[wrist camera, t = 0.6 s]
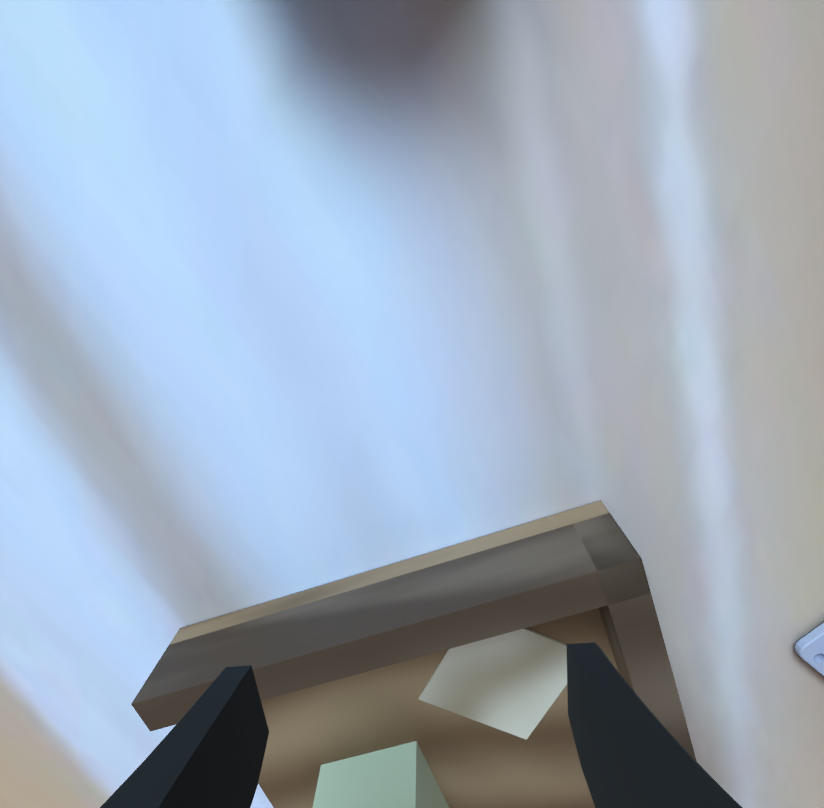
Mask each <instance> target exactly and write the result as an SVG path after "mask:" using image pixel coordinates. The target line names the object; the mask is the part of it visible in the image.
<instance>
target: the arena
mask: <svg viewBox="0 0 824 808" xmlns="http://www.w3.org/2000/svg"><path fill="white" fill-rule="evenodd" d="M591 642H595V643H596V644H597V645H598V646H599V647H600V648H601V649H602V651H603V652H604V653H605V655H606V656H607V657H608V659H609V660H610V661H611V663H612V664H613V665H614V667H615V668H616V669H617V671H618V672H619V673H620V674H621V676H622V677H623V678H624V679H625V681H626V682H627V683H628V684H629V686H630V687H631V688H632V689H633V691H634V692H635V693H636V694H637V696H638V697H639V698H640V699H641V700H642V701H643V703H644V704H645V705H646V706H647V707H648V709H649V710H650V711H651V712H652V713H653V714H654V715H655V717H656V718H657V719H658V720H659V721H660V722H661V723H662V725H663V726H664V727H665V728H666V729H667V730H668V731H669V733H670V734H671V735H672V736H673V737H674V738H675V739H676V740H677V741H678V743H679V744H680V745H681V746H682V747H683V748H684V749H685V750H686V751H687V752H688V753H689V754H690V756H691V757H692V758H693V759H694V760H695V761H696V758H695V754H694V751H693V747H692V743H691V740H690V736H689V732H688V728H687V725H686V721H685V717H684V714H683V710H682V706H681V703H680V699H679V695H678V692H677V688H676V684H675V681H674V677H673V673H672V670H671V666H670V662H669V659H668V655H667V651H666V647H665V644H664V640H663V636H662V633H661V629H660V625H659V622H658V618H657V614H656V611H655V607H654V603H653V600H652V596H651V592H650V589H649V585H648V581H647V577H646V574H645V570H644V566H643V563H642V559H641V557H640V556H639V554H638V553H637V552H636V550H635V549H634V547H633V546H632V544H631V543H630V541H629V540H628V539H627V537H626V536H625V534H624V533H623V531H622V530H621V528H620V527H619V526H618V524H617V523H616V521H615V520H614V518H613V517H612V516H611V514H610V513H609V511H608V510H607V508H606V507H605V505H604V504H603V503H602V501H601V500H600V501H597V502H594V503H590V504H587V505H584V506H581V507H577V508H574V509H571V510H567V511H564V512H561V513H558V514H554V515H551V516H548V517H544V518H541V519H538V520H535V521H531V522H528V523H525V524H521V525H518V526H515V527H511V528H508V529H505V530H502V531H498V532H495V533H492V534H488V535H485V536H482V537H479V538H475V539H472V540H469V541H465V542H462V543H459V544H456V545H452V546H449V547H446V548H442V549H439V550H436V551H433V552H429V553H426V554H423V555H419V556H416V557H413V558H410V559H406V560H403V561H400V562H396V563H393V564H390V565H387V566H383V567H380V568H377V569H373V570H370V571H367V572H364V573H360V574H357V575H354V576H350V577H347V578H344V579H340V580H337V581H334V582H331V583H327V584H324V585H321V586H317V587H314V588H311V589H308V590H304V591H301V592H298V593H294V594H291V595H288V596H285V597H281V598H278V599H275V600H271V601H268V602H265V603H262V604H258V605H255V606H252V607H248V608H245V609H242V610H239V611H235V612H232V613H229V614H225V615H222V616H219V617H216V618H212V619H209V620H206V621H202V622H199V623H196V624H192V625H189V626H186V627H183V628H180V629H179V631H178V632H177V634H176V635H175V637H174V638H173V640H172V642H171V643H170V645H169V646H168V648H167V649H166V651H165V652H164V654H163V656H162V657H161V659H160V660H159V662H158V663H157V665H156V666H155V668H154V670H153V671H152V673H151V674H150V676H149V677H148V679H147V680H146V682H145V684H144V685H143V687H142V688H141V690H140V691H139V693H138V694H137V696H136V698H135V699H134V701H133V702H132V706H133V707H134V709H135V710H136V711H137V713H138V714H139V716H140V717H141V719H142V720H143V721H144V723H145V724H146V726H147V727H148V729H149V730H150V731H153V730H157V729H161V728H164V727H168V726H171V725H175V724H177V723H178V722H179V721H180V720H181V719H182V718H183V716H184V715H185V714H186V713H187V712H188V711H189V709H190V708H191V707H192V706H193V705H194V704H195V702H196V701H197V700H198V699H199V698H200V697H201V695H202V694H203V693H204V692H205V691H206V690H207V688H208V687H209V686H210V685H211V684H212V683H213V681H214V680H215V679H216V678H217V677H218V676H219V675H220V674H221V672H222V671H223V670H224V669H225V668H226V667H235V666H250V665H252V669H253V673H254V677H255V680H256V684H257V688H258V692H259V695H260V699H261V703H262V707H263V710H264V714H265V718H266V722H267V726H268V729H269V735H268V740H267V745H266V749H265V754H264V759H263V763H262V768H261V772H260V776H259V781H258V784H259V785H260V787H261V788H262V790H263V791H264V793H265V795H266V796H267V798H268V799H269V801H270V802H271V804H272V805H273V807H274V808H312V807H313V802H314V797H315V792H316V787H317V782H318V777H319V772H320V767H321V765H323V764H327V763H331V762H335V761H339V760H343V759H347V758H351V757H355V756H359V755H363V754H367V753H370V752H374V751H378V750H382V749H386V748H390V747H394V746H398V745H402V744H406V743H410V742H414V741H417V743H418V745H419V747H420V749H421V751H422V753H423V755H424V757H425V759H426V761H427V763H428V765H429V767H430V769H431V771H432V773H433V775H434V777H435V779H436V782H437V784H438V786H439V788H440V790H441V792H442V794H443V796H444V798H445V800H446V802H447V804H448V806H449V808H595V805H594V802H593V799H592V797H591V794H590V791H589V788H588V785H587V782H586V779H585V776H584V774H583V771H582V768H581V764H580V760H579V756H578V752H577V749H576V745H575V741H574V737H573V733H572V729H571V724H570V720H569V716H568V692H567V644H576V643H591Z"/></svg>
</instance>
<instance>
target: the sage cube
mask: <svg viewBox="0 0 824 808" xmlns="http://www.w3.org/2000/svg"><path fill="white" fill-rule="evenodd" d="M312 808H449V806H448V804H447V802H446V800H445V798H444V796H443V794H442V792H441V790H440V788H439V786H438V784H437V782H436V779H435V777H434V775H433V773H432V771H431V769H430V767H429V765H428V763H427V761H426V759H425V757H424V755H423V753H422V751H421V749H420V747H419V745H418V743H417V741H414V742H410V743H406V744H402V745H398V746H394V747H390V748H386V749H382V750H378V751H374V752H370V753H367V754H363V755H359V756H355V757H351V758H347V759H343V760H339V761H335V762H331V763H327V764H323V765H321V767H320V772H319V777H318V782H317V787H316V792H315V797H314V802H313V807H312Z"/></svg>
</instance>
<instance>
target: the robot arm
mask: <svg viewBox="0 0 824 808" xmlns="http://www.w3.org/2000/svg"><path fill="white" fill-rule="evenodd" d="M795 651H796V652H797V654H798V655H799V656H800V657H801V658H802V659H803V660H805V661H806V662H807V663H808V664H809V665H811V666H812V667H813V668H814V669H815V670H817V671H818V672H819V673H820V674H821V675H823V676H824V622H823V623H822V624H821V625H819V626H818V627H817V628H815V629H814V630H812V631H811V632H810V633H808V634H807V635H806V636H804V637H803V638H802V639H800V640H799V641H798V642H797V643H796V645H795ZM567 692H568V716H569V720H570V724H571V729H572V733H573V737H574V741H575V745H576V749H577V752H578V756H579V760H580V764H581V768H582V771H583V774H584V776H585V779H586V782H587V785H588V788H589V791H590V794H591V797H592V799H593V802H594V805H595V808H742V807H741V806H740V805H739V804H738V803H737V802H736V801H735V800H734V799H733V798H732V797H731V796H730V795H729V794H728V793H727V792H726V791H725V790H724V789H723V788H722V787H721V786H720V785H719V784H718V783H717V782H716V781H715V780H714V779H713V778H712V777H711V776H710V775H709V774H708V773H707V772H706V771H705V770H704V769H703V768H702V767H701V766H700V765H699V764H698V763H697V762H696V761H695V760H694V759H693V758H692V757H691V756H690V754H689V753H688V752H687V751H686V750H685V749H684V748H683V747H682V746H681V745H680V744H679V743H678V741H677V740H676V739H675V738H674V737H673V736H672V735H671V734H670V733H669V731H668V730H667V729H666V728H665V727H664V726H663V725H662V723H661V722H660V721H659V720H658V719H657V718H656V717H655V715H654V714H653V713H652V712H651V711H650V710H649V709H648V707H647V706H646V705H645V704H644V703H643V701H642V700H641V699H640V698H639V697H638V696H637V694H636V693H635V692H634V691H633V689H632V688H631V687H630V686H629V684H628V683H627V682H626V681H625V679H624V678H623V677H622V676H621V674H620V673H619V672H618V671H617V669H616V668H615V667H614V665H613V664H612V663H611V661H610V660H609V659H608V657H607V656H606V655H605V653H604V652H603V651H602V649H601V648H600V647H599V646H598V645H597V644H596V643H595V642H591V643H576V644H567ZM268 735H269V729H268V726H267V722H266V718H265V714H264V710H263V707H262V703H261V699H260V695H259V692H258V688H257V684H256V680H255V677H254V673H253V669H252V665H250V666H235V667H226V668H225V669H224V670H223V671H222V672H221V674H220V675H219V676H218V677H217V678H216V679H215V680H214V681H213V683H212V684H211V685H210V686H209V687H208V688H207V690H206V691H205V692H204V693H203V694H202V695H201V697H200V698H199V699H198V700H197V701H196V702H195V704H194V705H193V706H192V707H191V708H190V709H189V711H188V712H187V713H186V714H185V715H184V716H183V718H182V719H181V720H180V721H179V722H178V723H177V725H176V726H175V727H174V728H173V729H172V730H171V731H170V732H169V734H168V735H167V736H166V737H165V738H164V739H163V740H162V742H161V743H160V744H159V745H158V746H157V747H156V748H155V749H154V751H153V752H152V753H151V754H150V755H149V756H148V757H147V758H146V760H145V761H144V762H143V763H142V764H141V765H140V766H139V767H138V768H137V769H136V770H135V771H134V772H133V773H132V775H131V776H130V777H129V778H128V779H127V780H126V781H125V782H124V783H123V784H122V785H121V786H120V787H119V788H118V789H117V790H116V791H115V793H114V794H113V795H112V796H111V797H110V798H109V799H108V800H107V801H106V802H105V803H104V804H103V805H102V806H101V807H100V808H250V806H251V803H252V800H253V797H254V794H255V791H256V788H257V785H258V781H259V776H260V772H261V768H262V763H263V759H264V754H265V749H266V745H267V740H268Z"/></svg>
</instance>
